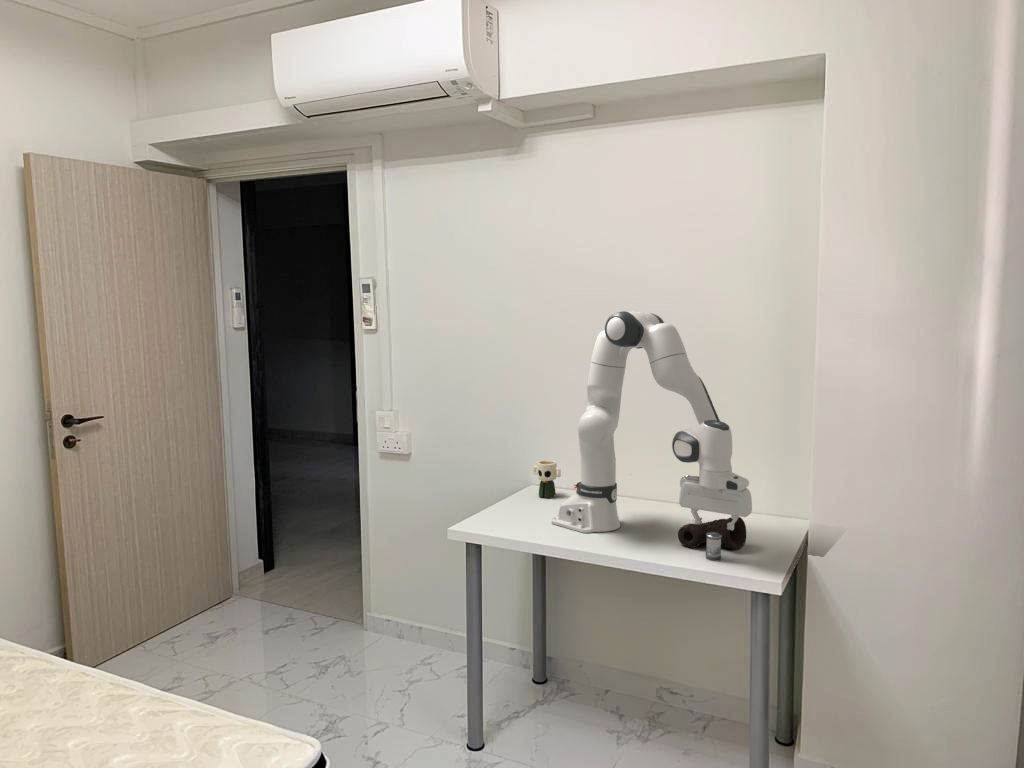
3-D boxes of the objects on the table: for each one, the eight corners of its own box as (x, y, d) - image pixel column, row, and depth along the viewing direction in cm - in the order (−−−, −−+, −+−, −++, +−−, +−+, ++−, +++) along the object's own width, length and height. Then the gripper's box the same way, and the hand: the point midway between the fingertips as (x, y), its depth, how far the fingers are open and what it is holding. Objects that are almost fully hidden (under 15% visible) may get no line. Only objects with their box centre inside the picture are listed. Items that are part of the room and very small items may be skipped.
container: (703, 559, 219) (703, 535, 218) (708, 554, 222) (709, 531, 221) (717, 562, 216) (718, 537, 216) (723, 557, 220) (723, 533, 219)
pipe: (674, 520, 231) (718, 521, 220) (702, 512, 241) (745, 513, 231) (677, 552, 231) (722, 555, 220) (705, 544, 241) (749, 546, 230)
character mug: (529, 497, 286) (529, 462, 284) (537, 492, 292) (537, 459, 291) (556, 500, 281) (556, 465, 279) (564, 496, 287) (564, 461, 286)
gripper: (675, 476, 220) (675, 523, 222) (747, 486, 208) (745, 535, 210) (684, 471, 225) (683, 518, 227) (754, 481, 213) (753, 529, 215)
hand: (714, 526), depth 218 cm, fingers open, 8 cm apart
